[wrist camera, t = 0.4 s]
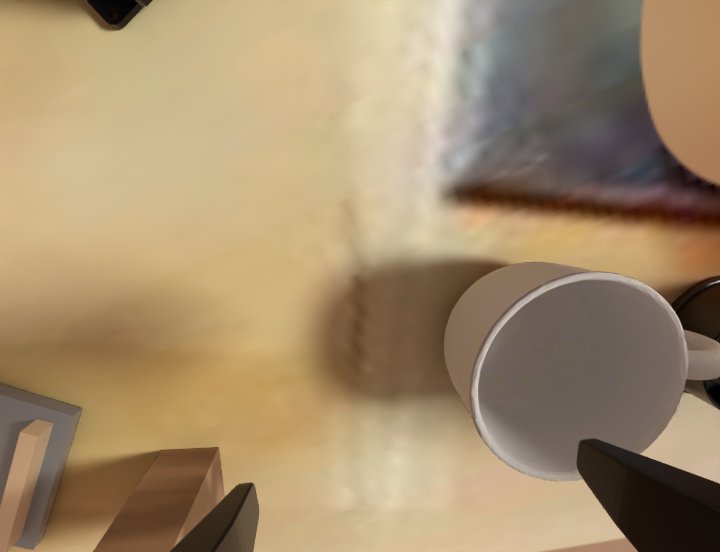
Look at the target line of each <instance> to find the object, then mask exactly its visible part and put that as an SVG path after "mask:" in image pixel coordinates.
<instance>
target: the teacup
mask: <svg viewBox="0 0 720 552" xmlns="http://www.w3.org/2000/svg"><path fill="white" fill-rule="evenodd" d="M444 356H445V363H446V366H447V370H448V373H449V376H450V378H451V381H452V383H453V385H454V387H455V389H456V391H457V393H458V395H459V396H460V398H461V400H462V402H463V404H464V405H465V407H466V409H467V410H468V412H469V413H470V415H471V417H472V418H473V421H474V424H475V426H476V429H477V431H478V433H479V435H480V437H481V438H482V439H483V441H484V442H485V444H486V445H487V446H488V447H489V448H490V449H491V451H492V452H493V453H494V454H495V455H496V456H497V457H498V458H499V459H500V460H502V461H504V462H505V463H506V464H507V465H508V466H510V467H512V468H513V469H515V470H517V471H519V472H521V473H523V474H527V475H529V476H532V477H535V478H540V479H543V480H550V481H577V480H581V479H583V478H582V477H581V475H580V474H579V472H578V469H577V465H576V459H577V452H578V444H579V442H580V440H582V439H590V438H595V439H599V440H601V441H604V442H607V443H610V444H612V445H615V446H618V447H621V448H623V449H626V450H629V451H632V452H634V453H637V454H640V453H642V452H643V451H644V450H645V449H647V448H648V447H649V446H650V445H651V444H652V443H653V442H654V441H655V440H656V439H657V438H658V436H659V435H660V434H661V433H662V432H663V430H664V429H665V428H666V427H667V425H668V423H669V422H670V420H671V418H672V416H673V415H674V413H675V411H676V409H677V406H678V404H679V401H680V398H681V395H682V393H683V391H684V389H685V382H686V379H689V380H710V379H716V378H718V377H720V344H719V343H718V342H717V341H715V340H713V339H711V338H708V337H706V336H704V335H700V334H697V333H694V332H690V331H686V330H683V328H682V325H681V322H680V320H679V318H678V316H677V315H676V313H675V311H674V310H673V309H672V307H671V306H670V305H669V304H668V302H667V301H666V300H665V299H664V298H663V297H662V296H661V295H660V294H659V293H657V292H656V291H655V290H654V289H652V288H651V287H649V286H647V285H646V284H644V283H642V282H640V281H638V280H636V279H633V278H631V277H628V276H623V275H619V274H616V273H609V272H599V271H591V270H587V269H582V268H577V267H572V266H567V265H561V264H554V263H546V262H525V263H517V264H512V265H508V266H505V267H502V268H499V269H497V270H495V271H492V272H490V273H488V274H487V275H485V276H484V277H482V278H480V279H479V280H477V281H476V282H475V283H474V284H473V285H472V286H471V287H469V288H468V289H467V290H466V292H465V293H464V294H463V295H462V296H461V297H460V299H459V300H458V302H457V303H456V305H455V306H454V308H453V310H452V312H451V314H450V317H449V320H448V323H447V326H446V329H445V336H444Z"/></svg>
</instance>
